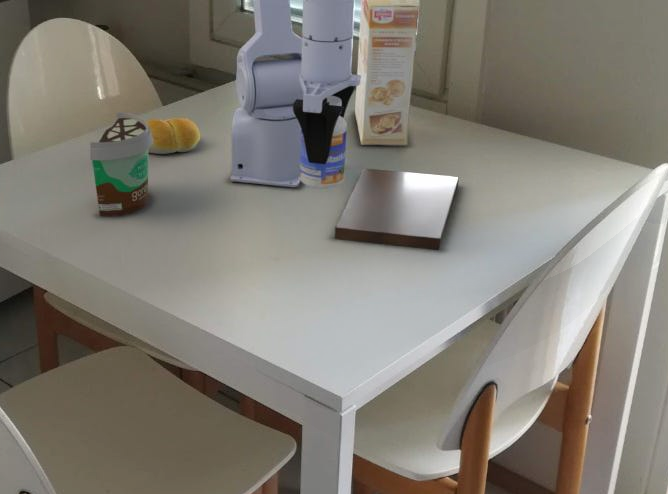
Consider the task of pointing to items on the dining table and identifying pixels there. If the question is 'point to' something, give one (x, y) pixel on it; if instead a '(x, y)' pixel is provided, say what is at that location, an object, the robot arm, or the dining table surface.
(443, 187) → the walnut board
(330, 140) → the robot arm
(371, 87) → the coffeecake box
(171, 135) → the bread roll
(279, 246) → the dining table surface
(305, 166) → the pill bottle
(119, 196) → the food container
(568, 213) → the dining table surface
